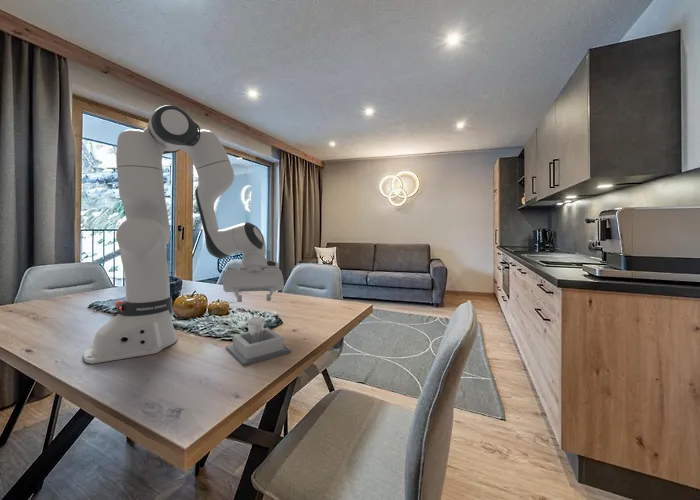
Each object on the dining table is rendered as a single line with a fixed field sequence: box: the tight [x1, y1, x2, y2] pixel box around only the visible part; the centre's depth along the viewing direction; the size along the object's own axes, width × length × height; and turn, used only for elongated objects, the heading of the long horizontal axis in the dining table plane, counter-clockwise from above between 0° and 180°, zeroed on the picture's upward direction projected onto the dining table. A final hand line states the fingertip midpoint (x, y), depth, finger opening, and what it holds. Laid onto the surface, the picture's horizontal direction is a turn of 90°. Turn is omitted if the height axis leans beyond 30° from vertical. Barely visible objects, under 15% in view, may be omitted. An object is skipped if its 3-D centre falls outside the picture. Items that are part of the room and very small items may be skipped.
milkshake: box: [247, 316, 266, 344], centre depth 87 cm, size 4×5×10 cm
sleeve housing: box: [225, 327, 292, 367], centre depth 87 cm, size 14×14×4 cm
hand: (254, 300), depth 100 cm, fingers open, 8 cm apart
